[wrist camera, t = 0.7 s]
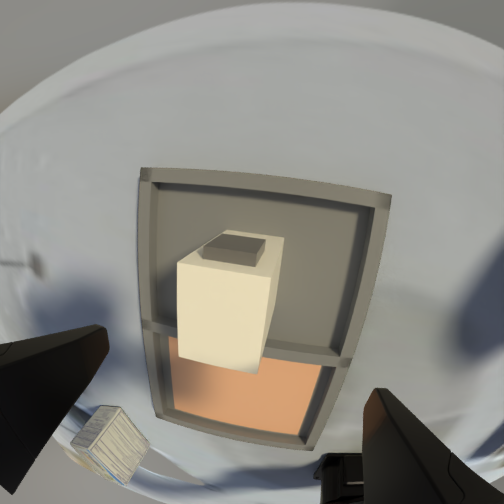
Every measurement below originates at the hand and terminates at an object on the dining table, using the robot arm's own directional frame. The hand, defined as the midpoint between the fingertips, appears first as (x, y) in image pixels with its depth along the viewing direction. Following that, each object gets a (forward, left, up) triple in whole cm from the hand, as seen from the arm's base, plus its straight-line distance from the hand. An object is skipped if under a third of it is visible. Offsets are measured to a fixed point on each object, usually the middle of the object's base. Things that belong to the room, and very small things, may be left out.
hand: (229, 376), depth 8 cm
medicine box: (-27, +16, -12) cm, 34 cm away
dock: (-7, +1, -12) cm, 14 cm away
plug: (-1, +1, -12) cm, 12 cm away
